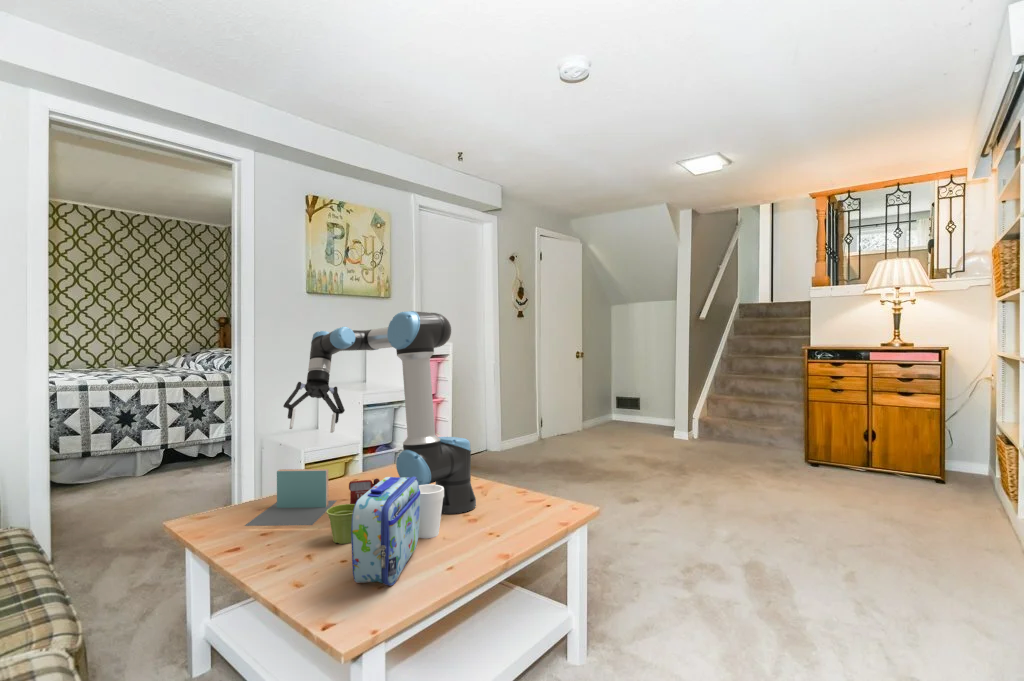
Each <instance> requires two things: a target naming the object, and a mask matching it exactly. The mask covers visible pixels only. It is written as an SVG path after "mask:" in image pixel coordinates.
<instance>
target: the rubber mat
mask: <svg viewBox="0 0 1024 681" xmlns="http://www.w3.org/2000/svg"><path fill="white" fill-rule="evenodd" d="M337 501H338V500H332V499H331V500H329V499H328V506H327V507H306V508H277V501H276V502H275V503H273V504H271V506H270V507H268V508H266V509H265V510H264V511H262V512H261V513H260V514H258V515H257V516H256V517H254V518H252V520H250V521H249V522H248V523H246V524H244V526H245V527H250V526H252V527H253V526H255V527H256V526H257V527H260V526H261V527H262V526H264V527H265V526H268V527H269V526H274V527H276V526H313V525H314V524H315V523H316V522H317V521H318V520H319V519H320V518H321V517H322V516H323V515H324V514H326V513H327V512H326V511H327V510H328V509H329V508H331V507H333V505H334V504H335V503H336V502H337Z"/></svg>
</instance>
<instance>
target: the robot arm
mask: <svg viewBox="0 0 1024 681" xmlns="http://www.w3.org/2000/svg"><path fill="white" fill-rule="evenodd" d="M451 336H452V326H451V324H450V321H449V320H448V319H447V318H446V316H444V315H443V314H441V313H437V312H427V311H426V312H425V311H415V310H411V311H410V310H409V311H400V312H398V313H396V314H394V316H393V317H392V319H391V320H390V321H389V323H388V327H381V328H373V329H365V330H363V329H361V330H355V329H354V330H353V329H352V328H349V327H348V326H342V327H338V328H335V329H334V330H332V331H326V330H320V331H315V332H314V333H313V335H312V338H311V341H310V351H309V352H310V353H309V362H308V370H307V371H308V372H307V374H306V375H307V376H306V382H305V383H302V382H301V381H298V382H297V384H296V385H295V389H294V390H293V391H292V392H291V394H290V395H289V397H288V398H287V400H286V401H285V402H284V404H283V408H286V409H288V413H287V419H290V422H289V427H288V428H289V430H293V428H294V422H295V416H296V408H297V406H298V405H300V403H301V402H303V401H304V400H306V399H307V398H308V397H311V398H312V399H313V398H317V399H321V398H322V400H323V401H324V402H325V403H326V404H327V406H328V407H329V409H330V410H331V411H332V412H333V413H332V415H331V423H330V432H329V433H332V434H333V433H334V432H335V426H336V424H338V423H339V420H340V419H339V416H340V415H342V414H344V412H345V411H346V410H345V408H344V405H343V402H342V401H341V400H342V399H341V398H340V394H339V393H338V386H334V387H332V386H331V387H330V384H329V382H330V373H331V367H332V366H331V365H332V358H333V355H335V354H337V353H338V352H339V353H340V352H342V351H343V352H344V351H345V352H346V351H348V352H349V351H377V350H380V349H389V348H394V349H396V357H398V358H399V360H401V363H402V378H403V391H404V393H403V394H404V406H405V418H406V420H405V421H406V431H407V432H406V435H407V437H406V438H405V439H404V441H403V442H402V448H403V450H402V451H401V452H399V453H398V455H397V457H396V461H395V462H396V463H395V464H396V465H395V467H396V471H397V474H398V477H400V478H402V477H409V478H410V477H417V479H418V485H426V484H434V485H440V486H443V487H444V497H443V504H442V512H441V514H446V515H448V514H449V515H450V514H451V515H452V514H453V515H455V514H456V513H457V514H462V512H464V513H467V511H468V512H470V511H469V510H471V511H473V510H474V509H475V508H476V507H477V498H476V496H475V492H474V489H473V486H472V480H471V475H472V474H471V472H472V471H471V470H472V469H471V467H472V465H471V461H472V459H471V458H472V456H471V455H472V450H471V442H470V440H469V439H467V438H464V437H457V436H438V435H436V429H435V428H436V427H435V416H434V415H435V414H434V413H435V412H434V399H433V386H432V373H431V372H432V370H431V361H430V359H431V358H432V356H433V355H434V354H435V349H436V348H441V347H443V346H444V345H445V344H447V343H448V341H449V340H450V338H451ZM302 389H304V390H305V392H304V393H303V394H302V395H301V396H299V397H298V399H296V400H295V401H294V402H292V401H293V399H294V398H295V397H296V395H297V394H298V392H299V391H300V390H302ZM328 392H330V393H331V394H332V396H333V399H334V401H333V400H332V399H331V397H330V395H329V394H328ZM291 402H292V403H291ZM334 402H335V403H334ZM290 403H291V404H290ZM295 407H296V408H295ZM475 506H476V507H475ZM473 508H474V509H473ZM472 509H473V510H472Z"/></svg>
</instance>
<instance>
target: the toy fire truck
mask: <svg viewBox="0 0 1024 681" xmlns="http://www.w3.org/2000/svg"><path fill="white" fill-rule="evenodd" d="M380 481H381V480H380V479H379V478H374V480H371V479H364V480H363V479H362V480H351V481H350V482H348V490H349V494H350V495H349V496H350V499H349V504H356V502H357V500H358V499H359V498H360V497H361V496H363V495H364V494H365V493H366V492H367V491H369V490H370V489H371V488H372V487H373V486H375V485H376V484H377V483H378V482H380Z"/></svg>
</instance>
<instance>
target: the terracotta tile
mask: <svg viewBox="0 0 1024 681" xmlns="http://www.w3.org/2000/svg"><path fill="white" fill-rule="evenodd" d="M328 500H329V469H328V468H312V469H311V468H308V469H305V468H303V469H302V468H300V469H299V468H297V469H296V468H295V469H293V468H291V469H290V468H287V469H286V468H285V469H281V468H280V469H278V470H277V471H276V502H277V508H306V507H327V506H328Z"/></svg>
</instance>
